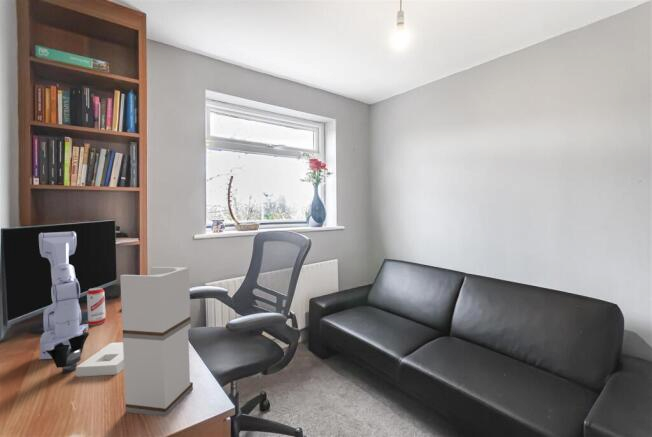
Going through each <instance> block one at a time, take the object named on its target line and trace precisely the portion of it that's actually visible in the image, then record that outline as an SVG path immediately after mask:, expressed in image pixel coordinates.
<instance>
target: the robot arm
mask: <svg viewBox="0 0 652 437" xmlns="http://www.w3.org/2000/svg"><path fill="white" fill-rule="evenodd" d="M77 242H78V241H77V232H76V231H74V230H73V231H72V230H71V231H59V232H58V231H57V232H55V231H54V232H40V233H39V234H38V245H39V254H40V255H41V257H42V258H45V259H47V260H48V261H49V263H50V274H51V284H52V285H51V287H50V288H51V291H50V293H51V294H50V295H51V301H52V303H51V304H50V305H49V306H48V307H46V308H45V309H44V310H43V316H42V317H43V321H42V322H43V331H44V332H43V333H42V334H41V336H40V340H39V348H40V350H39V352H40V357H38V360H53V362H54V365H55V366H56V368H57V369H58V368H62V367H65V366H66V356H67V351H68V349H71V348H80V353H81V354H82V353H83V348H84V347H85V344H86V340H87V339H88V337H89V336H90V333H89V332H88V330H89V324H88V323H83V324H81V323H82V310H81V306H80V303H79V299H80V297H81V287H80V283H79V281H78V278H76V272H75V267H74V265H72V264H70V263H69V262H70V261H69V257H70V256H72V255H74V254H75V252H76V248H77V244H78V243H77Z"/></svg>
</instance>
